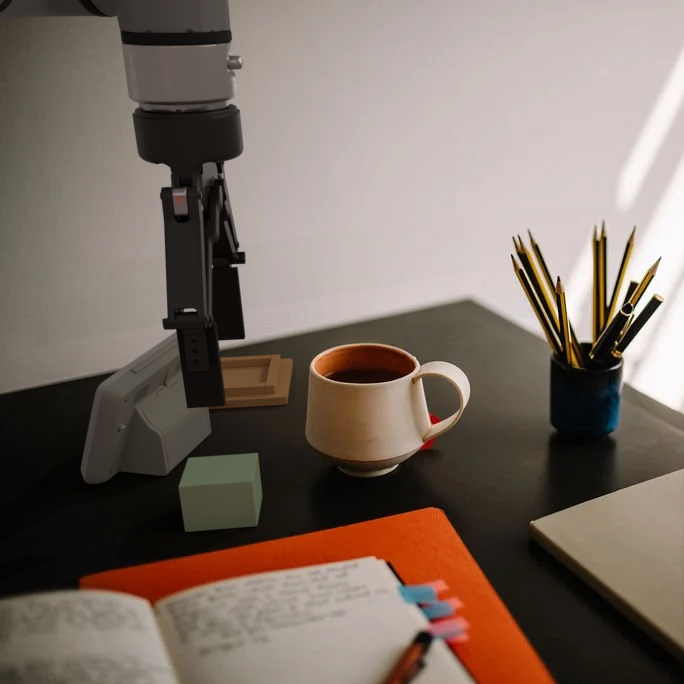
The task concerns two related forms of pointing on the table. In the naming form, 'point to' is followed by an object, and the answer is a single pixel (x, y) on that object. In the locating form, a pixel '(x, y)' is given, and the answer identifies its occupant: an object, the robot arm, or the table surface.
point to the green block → (221, 492)
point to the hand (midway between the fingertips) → (219, 369)
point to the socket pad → (256, 381)
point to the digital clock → (143, 418)
